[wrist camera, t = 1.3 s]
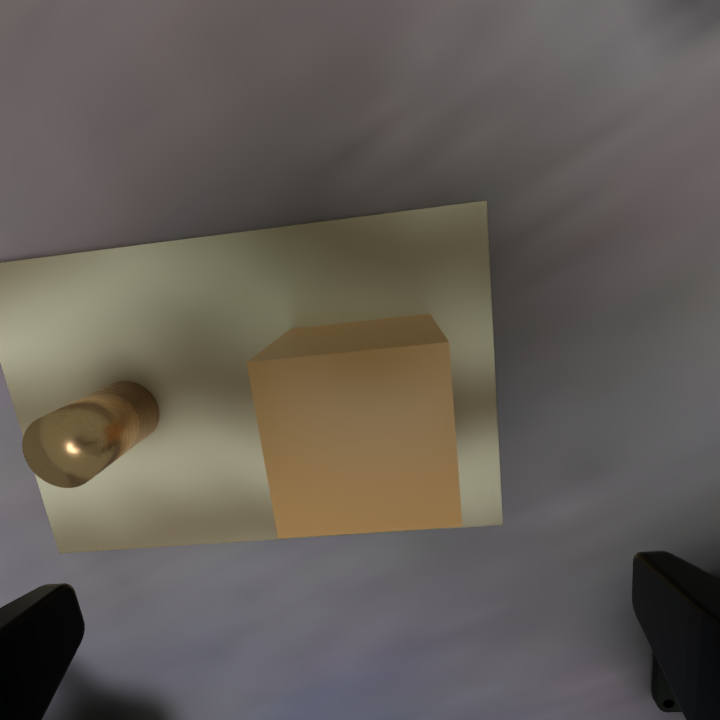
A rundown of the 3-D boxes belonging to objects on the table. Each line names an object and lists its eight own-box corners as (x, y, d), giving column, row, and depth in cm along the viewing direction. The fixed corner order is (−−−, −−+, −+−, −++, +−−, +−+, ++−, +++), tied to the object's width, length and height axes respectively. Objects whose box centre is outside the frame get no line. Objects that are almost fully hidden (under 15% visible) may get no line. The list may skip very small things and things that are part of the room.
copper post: (165, 437, 19) (107, 485, 15) (107, 441, 19) (34, 490, 15) (151, 377, 18) (87, 411, 14) (92, 383, 18) (12, 418, 14)
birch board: (497, 511, 20) (502, 524, 19) (74, 539, 21) (59, 553, 20) (480, 203, 17) (486, 200, 16) (-8, 266, 19) (-29, 266, 18)
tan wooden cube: (440, 445, 18) (462, 526, 13) (310, 456, 19) (278, 538, 13) (430, 313, 17) (449, 341, 11) (290, 328, 17) (246, 362, 12)
